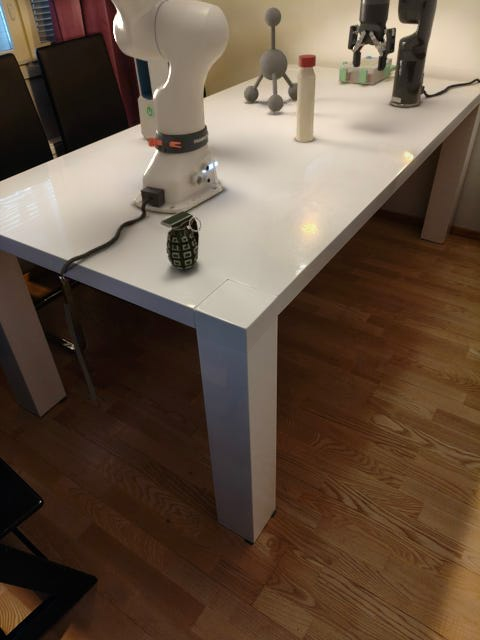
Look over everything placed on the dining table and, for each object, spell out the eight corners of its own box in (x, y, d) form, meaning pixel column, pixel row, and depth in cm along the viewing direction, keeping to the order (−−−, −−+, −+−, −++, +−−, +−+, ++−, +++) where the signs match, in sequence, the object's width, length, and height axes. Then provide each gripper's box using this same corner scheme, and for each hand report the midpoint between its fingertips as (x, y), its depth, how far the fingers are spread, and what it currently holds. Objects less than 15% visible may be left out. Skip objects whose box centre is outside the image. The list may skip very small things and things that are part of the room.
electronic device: (141, 137, 154) (123, 28, 136) (159, 131, 158) (144, 24, 140) (166, 145, 147) (151, 30, 129) (185, 138, 151) (172, 26, 133)
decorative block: (357, 54, 211) (402, 57, 202) (356, 70, 215) (400, 74, 206) (330, 65, 195) (377, 69, 186) (329, 83, 199) (375, 87, 190)
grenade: (182, 278, 88) (175, 228, 82) (162, 268, 91) (153, 219, 85) (208, 263, 92) (203, 214, 85) (187, 253, 95) (181, 205, 89)
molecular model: (322, 103, 175) (328, 5, 157) (274, 116, 166) (273, 12, 147) (282, 92, 191) (282, 1, 172) (235, 103, 181) (230, 8, 163)
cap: (312, 63, 136) (312, 53, 134) (317, 66, 132) (318, 56, 131) (296, 65, 135) (296, 55, 133) (301, 68, 131) (302, 58, 130)
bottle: (309, 135, 148) (312, 55, 135) (315, 140, 144) (319, 58, 131) (294, 137, 147) (295, 57, 134) (299, 142, 143) (301, 60, 130)
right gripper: (406, 0, 126) (397, 69, 136) (362, -2, 135) (357, 63, 145) (388, 3, 123) (380, 74, 133) (345, 1, 132) (340, 68, 142)
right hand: (368, 68), depth 139 cm, fingers open, 8 cm apart
